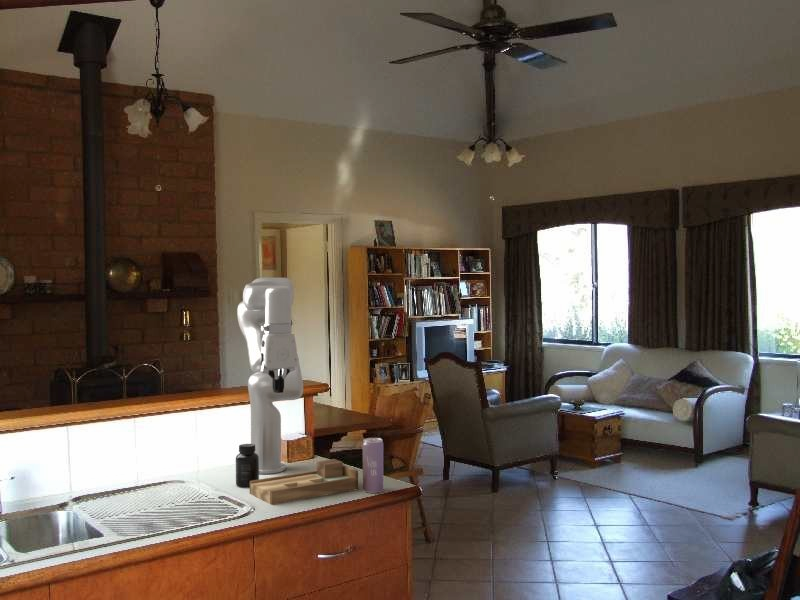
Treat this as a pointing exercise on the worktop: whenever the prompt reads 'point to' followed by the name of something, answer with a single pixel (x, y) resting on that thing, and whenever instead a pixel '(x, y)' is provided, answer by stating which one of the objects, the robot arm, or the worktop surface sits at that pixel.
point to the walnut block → (329, 468)
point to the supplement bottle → (246, 465)
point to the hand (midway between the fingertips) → (278, 392)
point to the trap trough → (302, 486)
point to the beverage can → (372, 465)
